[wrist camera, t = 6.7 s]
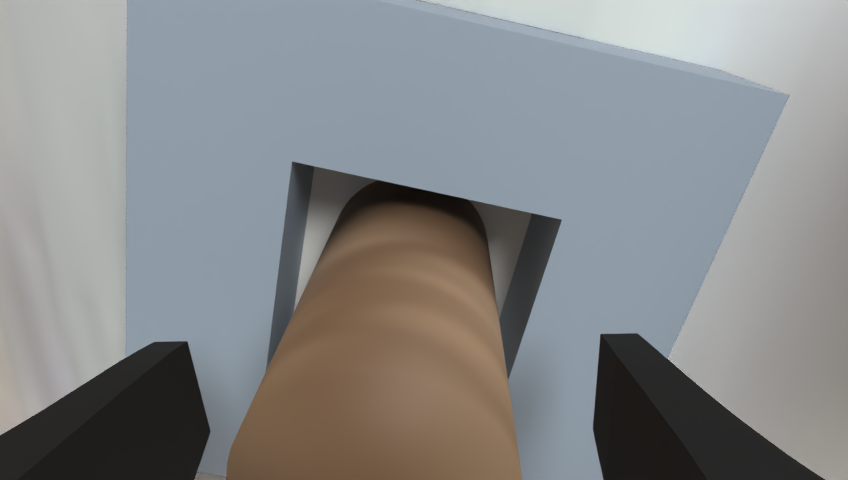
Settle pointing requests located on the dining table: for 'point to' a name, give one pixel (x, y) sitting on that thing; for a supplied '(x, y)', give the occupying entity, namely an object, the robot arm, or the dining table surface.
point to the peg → (388, 354)
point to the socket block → (423, 184)
